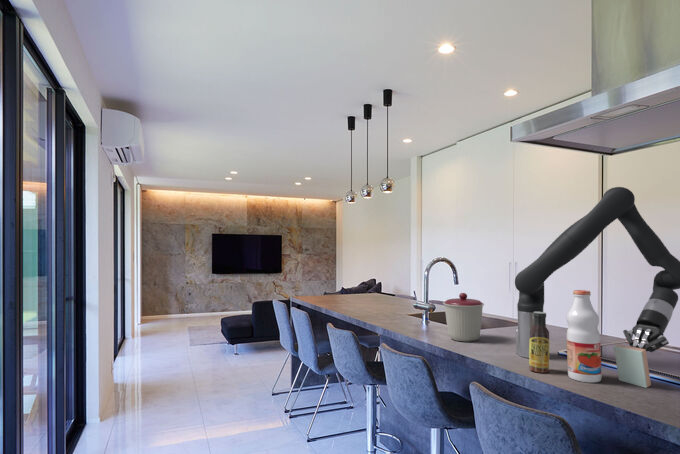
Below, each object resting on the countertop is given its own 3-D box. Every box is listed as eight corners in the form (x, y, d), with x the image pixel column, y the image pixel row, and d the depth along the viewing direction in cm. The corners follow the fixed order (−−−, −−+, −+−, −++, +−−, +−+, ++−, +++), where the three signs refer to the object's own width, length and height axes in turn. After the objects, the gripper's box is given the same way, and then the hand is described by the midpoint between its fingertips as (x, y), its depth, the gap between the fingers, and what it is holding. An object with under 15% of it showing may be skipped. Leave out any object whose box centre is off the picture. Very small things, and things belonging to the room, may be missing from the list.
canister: (490, 338, 194) (489, 292, 195) (475, 346, 180) (474, 296, 181) (453, 333, 205) (452, 290, 206) (436, 340, 191) (436, 293, 192)
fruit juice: (583, 372, 141) (580, 288, 143) (609, 381, 132) (605, 291, 134) (561, 375, 139) (558, 289, 140) (585, 384, 130) (582, 292, 131)
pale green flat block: (618, 380, 134) (613, 346, 133) (623, 377, 135) (618, 344, 134) (646, 387, 126) (641, 351, 126) (651, 385, 128) (645, 349, 127)
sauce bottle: (529, 372, 142) (528, 313, 143) (528, 367, 148) (527, 310, 149) (551, 374, 140) (549, 314, 141) (549, 369, 146) (547, 311, 146)
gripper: (628, 305, 142) (607, 346, 136) (673, 311, 130) (652, 356, 124) (638, 320, 144) (617, 361, 138) (683, 327, 132) (663, 372, 126)
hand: (634, 359), depth 131 cm, fingers closed
